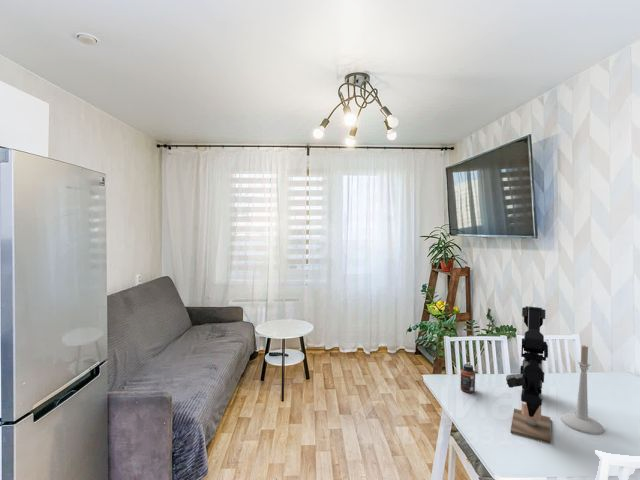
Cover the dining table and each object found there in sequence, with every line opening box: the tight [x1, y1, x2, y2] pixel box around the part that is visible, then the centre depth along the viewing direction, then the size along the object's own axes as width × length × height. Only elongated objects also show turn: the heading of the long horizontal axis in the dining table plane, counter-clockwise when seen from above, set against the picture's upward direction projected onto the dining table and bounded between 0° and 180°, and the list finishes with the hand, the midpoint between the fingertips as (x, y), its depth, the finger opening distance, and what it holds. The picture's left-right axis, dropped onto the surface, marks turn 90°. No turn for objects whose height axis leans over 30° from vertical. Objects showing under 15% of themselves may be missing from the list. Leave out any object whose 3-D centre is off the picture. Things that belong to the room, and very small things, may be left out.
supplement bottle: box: [460, 363, 476, 394], centre depth 160 cm, size 6×6×11 cm
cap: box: [520, 401, 542, 420], centre depth 132 cm, size 6×6×4 cm
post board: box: [510, 408, 552, 444], centre depth 132 cm, size 18×12×6 cm, turn 148°
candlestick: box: [560, 344, 605, 435], centre depth 133 cm, size 13×13×30 cm
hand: (531, 412), depth 132 cm, fingers closed on cap, 6 cm apart
